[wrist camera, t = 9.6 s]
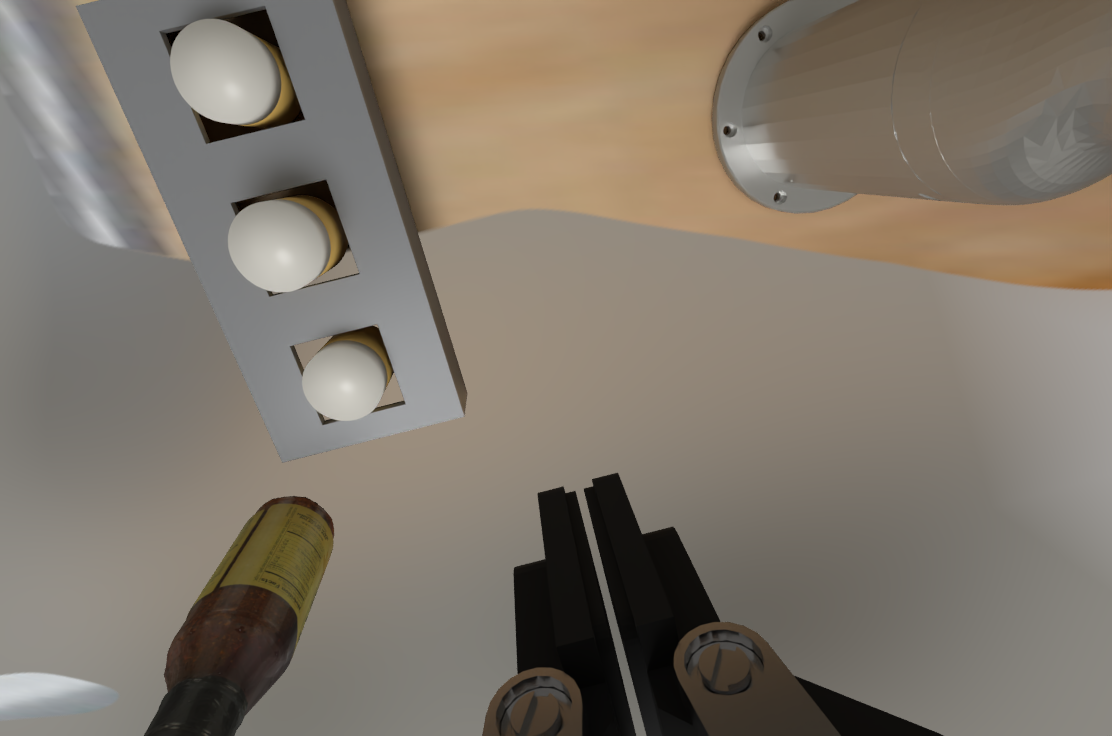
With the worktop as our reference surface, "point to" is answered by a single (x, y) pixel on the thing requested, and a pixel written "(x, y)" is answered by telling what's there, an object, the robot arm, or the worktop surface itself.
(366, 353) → the button
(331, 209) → the button middle
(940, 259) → the worktop surface
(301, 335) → the button board
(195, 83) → the button
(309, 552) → the sauce bottle
